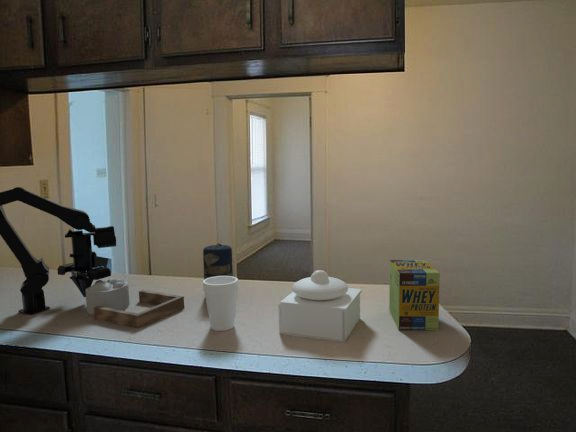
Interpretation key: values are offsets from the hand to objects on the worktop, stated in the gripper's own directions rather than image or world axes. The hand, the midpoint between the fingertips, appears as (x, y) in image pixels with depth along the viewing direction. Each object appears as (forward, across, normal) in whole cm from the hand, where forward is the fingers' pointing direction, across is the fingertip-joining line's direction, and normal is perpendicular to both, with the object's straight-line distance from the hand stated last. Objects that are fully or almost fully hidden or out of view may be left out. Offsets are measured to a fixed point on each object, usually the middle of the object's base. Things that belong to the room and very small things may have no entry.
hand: (86, 296), depth 147 cm
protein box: (+2, -99, -26) cm, 103 cm away
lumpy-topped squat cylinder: (+2, -11, 0) cm, 11 cm away
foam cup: (+2, -53, -1) cm, 53 cm away
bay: (+2, -23, 0) cm, 23 cm away
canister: (+2, -36, -23) cm, 43 cm away
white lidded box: (+2, -78, -12) cm, 79 cm away
